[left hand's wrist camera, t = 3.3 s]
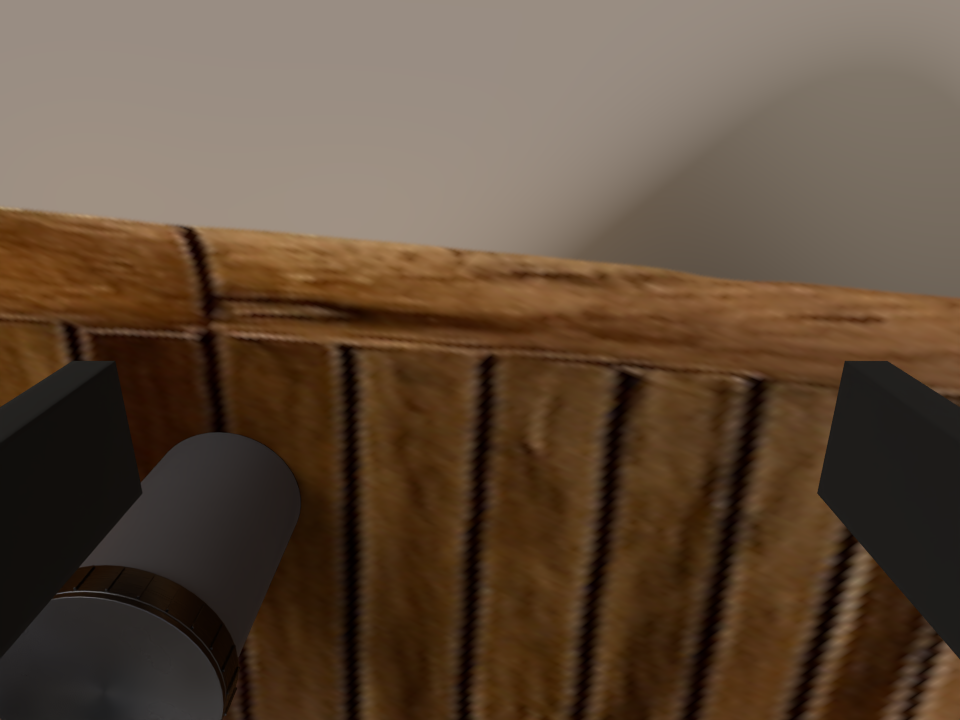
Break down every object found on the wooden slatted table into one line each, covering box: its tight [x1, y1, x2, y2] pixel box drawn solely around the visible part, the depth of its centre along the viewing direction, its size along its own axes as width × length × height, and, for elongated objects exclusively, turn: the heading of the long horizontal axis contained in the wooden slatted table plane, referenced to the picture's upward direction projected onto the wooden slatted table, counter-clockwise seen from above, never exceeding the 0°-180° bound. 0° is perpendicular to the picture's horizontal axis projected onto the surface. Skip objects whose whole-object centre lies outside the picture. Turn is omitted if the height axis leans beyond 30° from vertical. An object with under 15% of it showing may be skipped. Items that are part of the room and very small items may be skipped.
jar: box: [79, 432, 301, 657], centre depth 38 cm, size 10×10×16 cm
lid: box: [0, 565, 240, 720], centre depth 31 cm, size 11×11×2 cm
